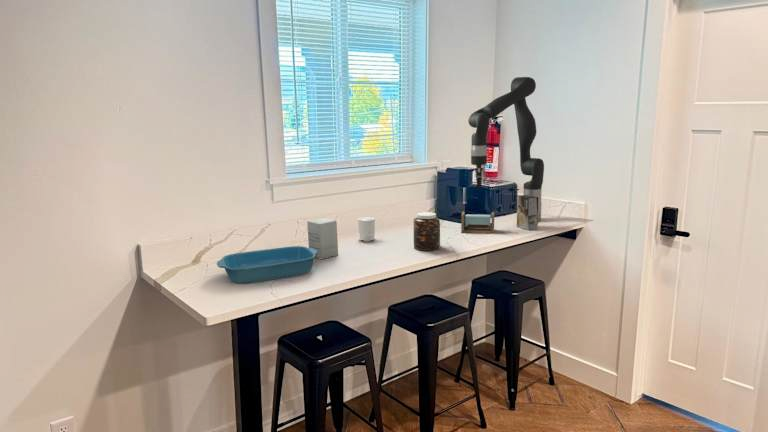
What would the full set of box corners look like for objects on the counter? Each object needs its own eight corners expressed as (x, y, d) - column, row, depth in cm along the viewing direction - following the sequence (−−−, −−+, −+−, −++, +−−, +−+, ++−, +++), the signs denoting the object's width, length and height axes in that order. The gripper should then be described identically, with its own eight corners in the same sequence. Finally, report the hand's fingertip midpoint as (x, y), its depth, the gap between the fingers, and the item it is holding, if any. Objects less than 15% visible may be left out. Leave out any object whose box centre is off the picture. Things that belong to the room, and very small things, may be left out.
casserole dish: (222, 290, 177) (220, 270, 176) (215, 273, 197) (213, 254, 196) (325, 275, 192) (325, 256, 190) (309, 260, 212) (308, 243, 210)
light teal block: (465, 222, 258) (465, 214, 257) (490, 222, 256) (490, 214, 255) (465, 224, 253) (465, 216, 252) (490, 224, 251) (490, 216, 250)
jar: (445, 247, 227) (445, 213, 224) (429, 252, 218) (429, 217, 216) (424, 243, 235) (424, 210, 232) (407, 248, 226) (407, 214, 224)
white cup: (355, 241, 242) (355, 220, 240) (362, 237, 249) (362, 216, 247) (371, 242, 239) (370, 220, 237) (378, 238, 246) (377, 217, 244)
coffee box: (538, 229, 257) (539, 197, 254) (528, 230, 255) (528, 198, 252) (525, 225, 266) (526, 194, 263) (515, 227, 263) (516, 195, 260)
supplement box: (325, 251, 224) (323, 217, 221) (338, 255, 218) (337, 220, 215) (308, 255, 218) (306, 220, 215) (321, 259, 211) (319, 223, 209)
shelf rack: (462, 229, 261) (462, 211, 260) (493, 229, 258) (494, 211, 257) (461, 233, 253) (461, 214, 251) (494, 233, 250) (494, 215, 248)
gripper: (487, 155, 245) (487, 189, 249) (486, 153, 259) (486, 185, 262) (470, 156, 247) (471, 190, 250) (471, 153, 260) (471, 185, 264)
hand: (479, 187), depth 256 cm, fingers open, 8 cm apart
